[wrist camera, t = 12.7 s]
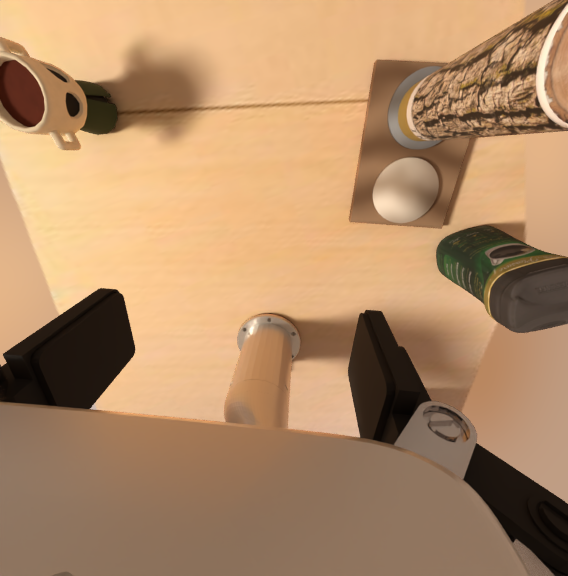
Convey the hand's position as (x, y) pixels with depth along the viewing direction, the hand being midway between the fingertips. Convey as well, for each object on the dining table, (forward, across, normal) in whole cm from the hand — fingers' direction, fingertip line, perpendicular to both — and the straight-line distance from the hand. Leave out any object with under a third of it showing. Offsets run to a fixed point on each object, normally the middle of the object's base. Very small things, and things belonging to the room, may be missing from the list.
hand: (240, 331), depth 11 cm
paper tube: (+34, -17, -12) cm, 40 cm away
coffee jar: (+36, -30, +7) cm, 47 cm away
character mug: (+36, +28, -10) cm, 47 cm away
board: (+36, -17, -7) cm, 41 cm away
